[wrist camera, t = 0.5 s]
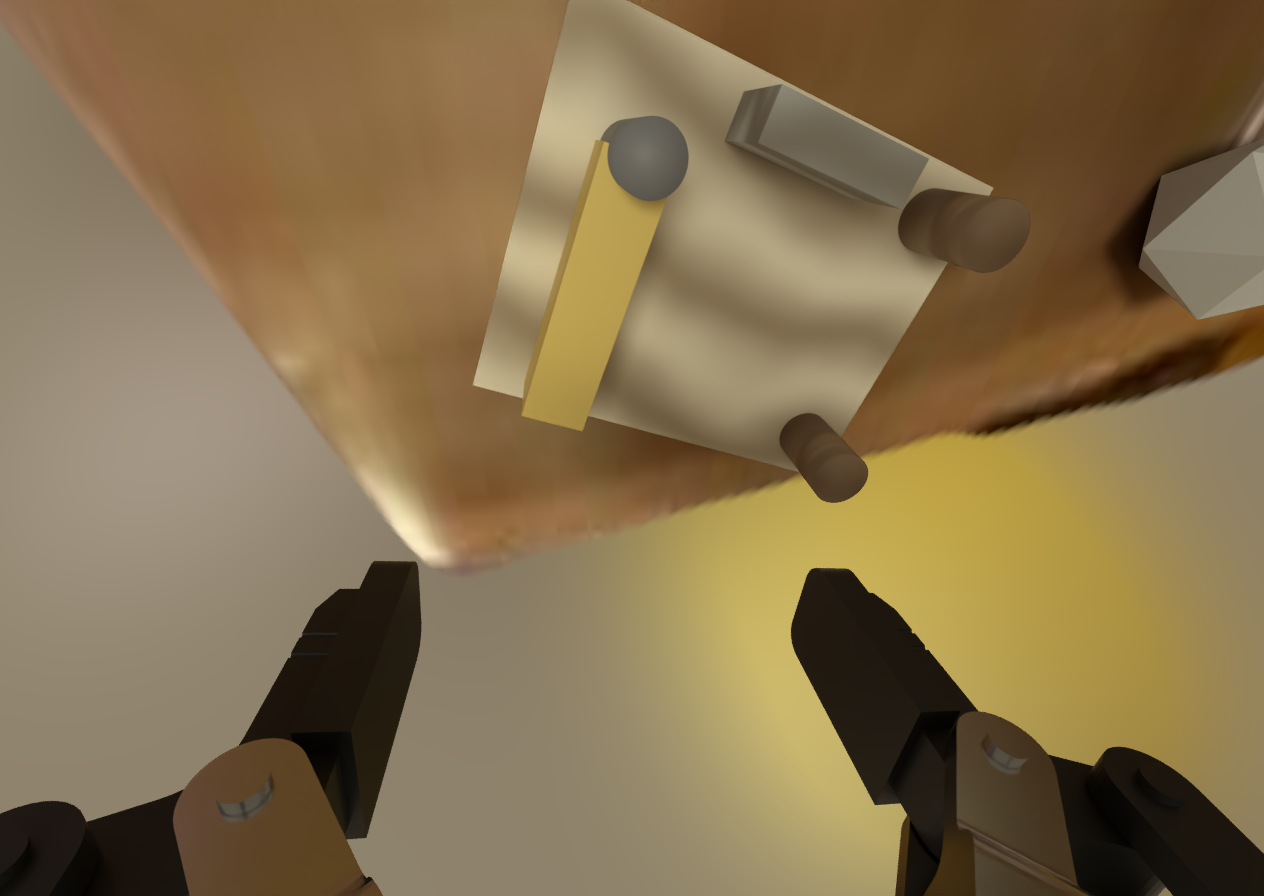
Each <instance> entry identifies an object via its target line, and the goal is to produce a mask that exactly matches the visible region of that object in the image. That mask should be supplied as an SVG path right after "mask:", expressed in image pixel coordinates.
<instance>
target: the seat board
mask: <svg viewBox="0 0 1264 896" xmlns="http://www.w3.org/2000/svg"><path fill="white" fill-rule="evenodd" d="M644 116H659V117H663V118H666V119H668V120H669V121H671V122H672V123H674V124H675V125H676V126H677V127H678V128H679V130H680V131H681V132H682V134H683V136H684V138H685V140H686V143H687V147H688V154H689V160H688V168H687V172H686V175H685V177H684V179H683V181H682V183H681V184H680V186H679V187H678V188H677V189H676V190H675V191H674V192H673V193H672V194H671V195H669V196H668V197H667V200H666V202H665V205H664V208H663V211H662V213H661V216H660V219H659V222H658V224H657V227H656V230H655V233H654V235H653V238H652V241H651V244H650V246H649V249H648V252H647V255H646V257H645V260H644V263H643V266H642V268H641V271H640V274H639V277H638V279H637V282H636V285H635V288H634V290H633V293H632V296H631V299H630V301H629V304H628V307H627V310H626V312H625V315H624V318H623V321H622V323H621V326H620V329H619V332H618V334H617V337H616V340H615V343H614V345H613V348H612V351H611V354H610V356H609V359H608V362H607V365H606V367H605V370H604V373H603V376H602V378H601V381H600V384H599V387H598V389H597V392H596V395H595V398H594V400H593V403H592V406H591V409H590V411H589V414H588V416H591V417H594V418H598V419H602V420H606V421H609V422H613V423H617V424H621V425H624V426H628V427H632V428H636V429H639V430H643V431H647V432H651V433H654V434H658V435H662V436H666V437H669V438H673V439H677V440H681V441H684V442H688V443H692V444H696V445H699V446H703V447H707V448H710V449H714V450H718V451H722V452H725V453H729V454H733V455H737V456H740V457H744V458H748V459H752V460H755V461H759V462H763V463H767V464H770V465H774V466H778V467H782V468H785V469H789V470H793V471H797V472H800V473H801V475H802V476H803V477H804V479H805V480H806V481H807V483H808V484H809V485H810V487H811V488H812V489H813V491H814V492H815V494H816V495H817V496H818V497H819V498H820V499H821V500H823V501H826V502H831V503H836V502H842V501H845V500H847V499H849V498H851V497H853V496H854V495H855V494H857V493H858V492H859V491H860V490H861V489H862V487H863V486H864V484H865V483H866V480H867V477H868V468H867V465H866V464H865V462H864V461H863V460H862V459H861V458H860V457H859V456H858V455H857V454H856V453H855V452H854V451H853V450H852V449H851V448H850V447H849V446H848V445H847V443H846V442H845V441H844V440H843V439H842V438H841V436H842V435H843V433H844V431H845V430H846V428H847V426H848V425H849V423H850V421H851V420H852V418H853V417H854V415H855V413H856V412H857V410H858V408H859V407H860V405H861V403H862V402H863V400H864V399H865V397H866V395H867V394H868V392H869V390H870V389H871V387H872V386H873V384H874V382H875V381H876V379H877V377H878V376H879V374H880V372H881V371H882V369H883V368H884V366H885V364H886V363H887V361H888V359H889V358H890V356H891V355H892V353H893V351H894V350H895V348H896V346H897V345H898V343H899V341H900V340H901V338H902V337H903V335H904V333H905V332H906V330H907V328H908V327H909V325H910V324H911V322H912V320H913V319H914V317H915V315H916V314H917V312H918V310H919V309H920V307H921V306H922V304H923V302H924V301H925V299H926V297H927V296H928V294H929V293H930V291H931V289H932V288H933V286H934V284H935V283H936V281H937V279H938V278H939V276H940V275H941V273H942V271H943V270H944V268H945V266H946V265H947V263H948V262H949V263H952V264H955V265H958V266H961V267H964V268H967V269H970V270H973V271H976V272H980V273H987V272H992V271H995V270H998V269H1000V268H1002V267H1003V266H1005V265H1006V264H1008V263H1009V262H1010V261H1011V260H1012V259H1013V258H1014V257H1015V256H1016V255H1017V254H1018V253H1019V251H1020V250H1021V249H1022V247H1023V245H1024V243H1025V241H1026V239H1027V237H1028V233H1029V229H1030V216H1029V212H1028V210H1027V208H1026V207H1025V206H1024V205H1023V204H1022V203H1021V202H1019V201H1017V200H1013V199H1007V198H1000V197H994V196H989V195H990V193H991V191H992V190H993V188H992V187H990V186H989V185H987V184H985V183H983V182H981V181H979V180H977V179H975V178H973V177H971V176H969V175H967V174H965V173H963V172H961V171H959V170H957V169H955V168H953V167H951V166H949V165H948V164H946V163H944V162H942V161H940V160H938V159H936V158H934V157H932V156H930V155H928V154H926V153H924V152H922V151H920V150H918V149H916V148H914V147H912V146H910V145H908V144H907V143H905V142H903V141H901V140H899V139H897V138H895V137H893V136H891V135H889V134H887V133H885V132H883V131H881V130H879V129H877V128H875V127H873V126H871V125H869V124H867V123H865V122H864V121H862V120H860V119H858V118H856V117H854V116H852V115H850V114H848V113H846V112H844V111H842V110H840V109H838V108H836V107H834V106H832V105H830V104H828V103H826V102H824V101H823V100H821V99H819V98H817V97H815V96H813V95H811V94H809V93H807V92H805V91H803V90H801V89H799V88H797V87H795V86H793V85H791V84H789V83H787V82H785V81H783V80H782V79H780V78H778V77H776V76H774V75H772V74H770V73H768V72H766V71H764V70H762V69H760V68H758V67H756V66H754V65H752V64H750V63H748V62H746V61H744V60H742V59H741V58H739V57H737V56H735V55H733V54H731V53H729V52H727V51H725V50H723V49H721V48H719V47H717V46H715V45H713V44H711V43H709V42H707V41H705V40H703V39H701V38H700V37H698V36H696V35H694V34H692V33H690V32H688V31H686V30H684V29H682V28H680V27H678V26H676V25H674V24H672V23H670V22H668V21H666V20H664V19H662V18H660V17H658V16H657V15H655V14H653V13H651V12H649V11H647V10H645V9H643V8H641V7H639V6H637V5H635V4H633V3H631V2H629V1H627V0H569V1H568V5H567V9H566V13H565V17H564V21H563V25H562V30H561V34H560V38H559V42H558V46H557V50H556V54H555V58H554V62H553V66H552V70H551V74H550V78H549V82H548V86H547V90H546V94H545V98H544V102H543V106H542V110H541V114H540V118H539V122H538V126H537V130H536V134H535V138H534V142H533V146H532V150H531V154H530V158H529V162H528V166H527V170H526V174H525V178H524V182H523V186H522V190H521V194H520V198H519V202H518V206H517V210H516V214H515V218H514V222H513V226H512V230H511V234H510V238H509V242H508V246H507V250H506V254H505V258H504V262H503V266H502V270H501V274H500V278H499V283H498V287H497V291H496V295H495V299H494V303H493V307H492V311H491V315H490V319H489V323H488V327H487V331H486V335H485V339H484V343H483V347H482V351H481V355H480V359H479V363H478V367H477V371H476V375H475V379H474V383H473V385H475V386H478V387H482V388H486V389H490V390H493V391H497V392H501V393H505V394H508V395H512V396H516V397H520V398H523V391H524V381H525V378H526V374H527V371H528V367H529V364H530V361H531V357H532V354H533V351H534V347H535V344H536V340H537V337H538V334H539V330H540V327H541V323H542V320H543V317H544V313H545V310H546V306H547V303H548V300H549V296H550V293H551V289H552V286H553V283H554V279H555V276H556V273H557V269H558V266H559V262H560V259H561V256H562V252H563V249H564V245H565V242H566V239H567V235H568V232H569V228H570V225H571V222H572V218H573V215H574V211H575V208H576V205H577V201H578V198H579V195H580V191H581V188H582V184H583V181H584V178H585V174H586V171H587V167H588V164H589V161H590V157H591V154H592V150H593V147H594V144H595V140H601V137H602V135H603V133H604V132H605V131H606V129H607V128H608V127H609V126H610V125H611V124H613V123H615V122H617V121H619V120H623V119H630V118H637V117H644Z"/></svg>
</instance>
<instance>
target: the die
mask: <svg viewBox="0 0 1264 896" xmlns="http://www.w3.org/2000/svg"><path fill="white" fill-rule="evenodd" d="M1139 268H1140V269H1141V270H1142V271H1143V272H1144V273H1145V274H1147V275H1148V276H1149V277H1150V278H1151V279H1152V280H1153V281H1154V282H1156V283H1157V284H1158V285H1159V286H1160V287H1161V288H1162V289H1163V290H1165V291H1166V292H1167V293H1168V294H1169V295H1170V296H1171V297H1172V298H1174V299H1175V300H1176V301H1177V302H1178V303H1179V304H1180V305H1181V306H1182V307H1184V308H1185V309H1186V310H1187V311H1188V312H1189V313H1190V314H1191V315H1193V316H1194V317H1195V318H1196V319H1197V320H1199V319H1203V318H1208V317H1212V316H1216V315H1221V314H1225V313H1229V312H1234V311H1238V310H1242V309H1247V308H1251V307H1255V306H1260V305H1264V138H1263V139H1261V140H1258V141H1255V142H1252V143H1250V144H1247V145H1244V146H1241V147H1239V148H1236V149H1233V150H1230V151H1228V152H1225V153H1222V154H1219V155H1217V156H1214V157H1211V158H1209V159H1206V160H1203V161H1200V162H1198V163H1195V164H1192V165H1189V166H1187V167H1184V168H1181V169H1178V170H1176V171H1173V172H1170V173H1167V174H1165V175H1162V176H1161V180H1160V184H1159V188H1158V191H1157V195H1156V199H1155V203H1154V207H1153V211H1152V215H1151V219H1150V222H1149V226H1148V230H1147V234H1146V238H1145V242H1144V246H1143V250H1142V254H1141V258H1140V263H1139Z"/></svg>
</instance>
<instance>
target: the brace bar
mask: <svg viewBox="0 0 1264 896" xmlns="http://www.w3.org/2000/svg"><path fill="white" fill-rule="evenodd" d="M688 160H689V154H688V147H687V143H686V140H685V138H684V136H683V134H682V132H681V131H680V130H679V128H678V127H677V126H676V125H675V124H674V123H672V122H671V121H669V120H668V119H666V118H663V117H659V116H644V117H637V118H630V119H623V120H619V121H617V122H615V123H613V124H611V125H610V126H609V127H608V128H607V129H606V131H605V132H604V133H603V135H602V137H601V140H595V144H594V147H593V150H592V154H591V157H590V161H589V164H588V167H587V171H586V174H585V178H584V181H583V184H582V188H581V191H580V195H579V198H578V201H577V205H576V208H575V211H574V215H573V218H572V222H571V225H570V228H569V232H568V235H567V239H566V242H565V245H564V249H563V252H562V256H561V259H560V262H559V266H558V269H557V273H556V276H555V279H554V283H553V286H552V289H551V293H550V296H549V300H548V303H547V306H546V310H545V313H544V317H543V320H542V323H541V327H540V330H539V334H538V337H537V340H536V344H535V347H534V351H533V354H532V357H531V361H530V364H529V367H528V371H527V374H526V378H525V381H524V391H523V403H522V415H521V416H524V417H528V418H532V419H536V420H540V421H544V422H548V423H552V424H555V425H559V426H563V427H567V428H571V429H575V430H579V431H583V428H584V425H585V422H586V420H587V417H588V414H589V411H590V409H591V406H592V403H593V400H594V398H595V395H596V392H597V389H598V387H599V384H600V381H601V378H602V376H603V373H604V370H605V367H606V365H607V362H608V359H609V356H610V354H611V351H612V348H613V345H614V343H615V340H616V337H617V334H618V332H619V329H620V326H621V323H622V321H623V318H624V315H625V312H626V310H627V307H628V304H629V301H630V299H631V296H632V293H633V290H634V288H635V285H636V282H637V279H638V277H639V274H640V271H641V268H642V266H643V263H644V260H645V257H646V255H647V252H648V249H649V246H650V244H651V241H652V238H653V235H654V233H655V230H656V227H657V224H658V222H659V219H660V216H661V213H662V211H663V208H664V205H665V202H666V200H667V197H668V196H669V195H671V194H672V193H673V192H674V191H675V190H676V189H677V188H678V187H679V186H680V184H681V183H682V181H683V179H684V177H685V175H686V172H687V168H688Z"/></svg>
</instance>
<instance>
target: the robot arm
mask: <svg viewBox="0 0 1264 896" xmlns="http://www.w3.org/2000/svg"><path fill="white" fill-rule="evenodd" d="M420 609H421V608H420V590H419V572H418V565H417V563H416V562H406V561H403V562H402V561H374V562H373V563H372V564H371V566H370V568H369V570H368V572H367V574H366V576H365V578H364V580H363V582H362V584H361V587H360V589H339V590H337V591H336V592H335V593H334V594H333V595H332V596H330V597H329V598H328V599H327V600H326V601H324V602H323V603H322V604H321V605H320V606H319V607H317V608H316V609H315V611H314V613H313V615H312V616H311V618H310V620H309V622H308V623H307V625H306V627H305V629H304V631H303V633H302V637H301V638H299V640H298V641H297V643H296V645H295V647H294V649H293V650H292V652H291V658H288V659H287V661H286V663H285V665H284V667H283V668H282V671H281V672H280V674H279V676H278V677H277V679H276V681H275V683H274V685H273V686H272V688H271V690H270V692H269V694H268V695H267V697H266V699H265V701H264V702H263V704H262V706H261V708H260V710H259V711H258V713H257V715H256V717H255V719H254V720H253V722H252V724H251V726H250V728H249V729H248V731H247V733H246V735H245V737H244V738H243V740H242V741H241V743H240V744H239V746H237V747H235V748H233V749H231V750H229V751H227V752H225V753H223V754H222V755H220V756H218V757H217V758H216V759H214V760H213V761H211V762H210V763H209V764H208V765H206V766H205V767H204V768H203V769H201V770H200V771H199V772H198V773H197V775H195V776H194V777H193V779H192V780H191V781H190V782H189V783H188V785H187V786H186V787H185V789H183V790H181V791H179V792H177V793H175V794H172V795H170V796H167V797H164V798H161V799H159V800H156V801H152V802H149V803H146V804H143V805H140V806H136V807H133V808H130V809H127V810H124V811H120V812H117V813H114V814H111V815H108V816H105V817H101V818H98V819H95V820H92V821H88V822H86V820H85V818H84V816H83V814H82V813H81V811H80V810H79V809H78V808H77V807H75V806H74V805H71V804H69V803H66V802H59V801H45V802H38V803H32V804H28V805H24V806H21V807H17V808H14V809H12V810H9V811H6V812H3V813H1V814H0V896H383V895H382V893H381V891H380V889H379V888H378V886H377V885H376V883H375V882H374V880H373V879H372V878H371V877H368V878H366V877H365V876H364V875H363V873H362V871H361V869H360V867H359V865H358V863H357V861H356V859H355V857H354V855H353V853H352V850H351V848H350V846H349V844H348V842H347V840H346V839H357V838H366V837H367V834H368V830H369V826H370V823H371V819H372V816H373V812H374V809H375V806H376V802H377V798H378V795H379V791H380V788H381V784H382V781H383V777H384V774H385V770H386V767H387V763H388V759H389V756H390V753H391V749H392V746H393V742H394V738H395V735H396V731H397V728H398V724H399V721H400V717H401V714H402V710H403V707H404V703H405V700H406V696H407V693H408V689H409V685H410V682H411V678H412V675H413V671H414V668H415V664H416V661H417V657H418V653H419V647H420V640H421V610H420ZM791 639H792V644H793V648H794V651H795V653H796V655H797V657H798V659H799V661H800V663H801V665H802V667H803V669H804V671H805V673H806V675H807V676H808V678H809V680H810V682H811V684H812V686H813V687H814V690H815V692H816V693H817V696H818V697H819V699H820V701H821V703H822V705H823V707H824V709H825V711H826V713H827V714H828V716H829V718H830V720H831V722H832V724H833V726H834V728H835V730H836V732H837V734H838V736H839V737H840V739H841V741H842V743H843V745H844V747H845V749H846V751H847V753H848V755H849V757H850V758H851V760H852V762H853V764H854V766H855V768H856V770H857V772H858V774H859V776H860V777H861V779H862V781H863V783H864V785H865V787H866V789H867V791H868V793H869V794H870V797H871V798H872V800H873V802H874V804H875V805H883V804H896V803H897V804H898V803H901V805H902V806H903V808H904V810H905V812H906V813H907V816H906V818H905V820H904V822H903V824H902V828H901V838H900V849H899V860H898V871H897V882H896V892H895V896H1158V895H1159V894H1160V893H1161V891H1162V890H1163V889H1164V888H1165V887H1166V888H1167V889H1168V890H1169V891H1170V892H1171V894H1172V895H1173V896H1264V853H1262V852H1261V851H1260V850H1259V849H1258V848H1257V847H1256V846H1255V845H1254V844H1253V843H1252V842H1251V841H1250V840H1249V839H1248V838H1247V837H1246V836H1245V835H1244V834H1243V833H1242V832H1241V831H1240V830H1239V829H1238V828H1237V827H1236V826H1235V825H1234V824H1233V823H1232V822H1231V821H1230V820H1229V819H1228V818H1227V817H1226V816H1225V815H1224V814H1223V813H1222V812H1221V811H1220V810H1218V808H1217V807H1215V806H1214V805H1213V804H1212V803H1211V802H1210V801H1209V800H1208V799H1207V798H1206V797H1205V796H1204V795H1203V794H1202V793H1201V792H1200V791H1199V790H1198V789H1197V788H1196V787H1195V786H1194V785H1193V784H1192V783H1190V782H1189V781H1188V780H1187V779H1186V778H1184V777H1183V776H1182V775H1181V774H1179V773H1178V772H1176V771H1175V770H1174V769H1172V768H1171V767H1169V766H1168V765H1166V764H1164V763H1163V762H1161V761H1159V760H1157V759H1155V758H1153V757H1151V756H1149V755H1147V754H1145V753H1142V752H1140V751H1137V750H1134V749H1130V748H1126V747H1112V748H1109V749H1107V750H1106V751H1105V752H1104V753H1103V754H1102V756H1101V757H1100V758H1099V760H1098V761H1097V763H1096V764H1095V765H1094V766H1090V765H1086V764H1083V763H1079V762H1075V761H1071V760H1067V759H1063V758H1059V757H1055V756H1051V755H1048V754H1047V753H1046V752H1045V751H1044V749H1043V748H1042V747H1041V746H1040V745H1039V744H1038V743H1037V742H1036V741H1035V740H1034V739H1033V738H1032V737H1031V736H1030V735H1029V734H1027V733H1026V732H1025V731H1023V730H1022V729H1021V728H1019V727H1018V726H1016V725H1014V724H1013V723H1011V722H1009V721H1007V720H1005V719H1003V718H1001V717H998V716H996V715H993V714H989V713H986V712H979V711H978V710H977V709H976V708H975V707H974V705H973V704H972V703H971V702H970V700H969V699H968V698H967V697H966V695H965V694H964V693H963V692H962V691H961V689H960V688H959V687H958V686H957V684H956V683H955V682H954V681H953V680H952V678H951V677H950V676H949V675H948V674H947V672H946V671H945V670H944V668H943V667H942V666H941V665H940V664H939V663H938V661H937V660H936V659H935V657H934V656H933V655H932V654H931V653H930V651H929V650H925V645H924V644H923V643H922V642H921V640H920V639H919V638H918V637H917V635H916V634H915V633H912V629H911V628H910V627H909V626H908V624H907V623H906V622H905V621H904V620H903V618H902V617H901V616H900V615H899V613H898V612H897V611H896V610H895V609H894V608H892V607H891V606H890V605H888V604H887V603H886V602H884V601H883V600H882V599H881V598H879V597H878V596H877V595H875V594H873V593H869V592H868V591H867V590H866V589H865V587H864V586H863V585H862V583H861V582H860V581H859V580H858V578H857V577H856V576H855V574H854V573H853V572H852V571H850V570H849V569H835V568H814V569H811V570H810V572H809V573H808V575H807V577H806V580H805V583H804V586H803V590H802V593H801V596H800V600H799V602H798V605H797V609H796V612H795V615H794V618H793V621H792V627H791Z"/></svg>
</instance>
